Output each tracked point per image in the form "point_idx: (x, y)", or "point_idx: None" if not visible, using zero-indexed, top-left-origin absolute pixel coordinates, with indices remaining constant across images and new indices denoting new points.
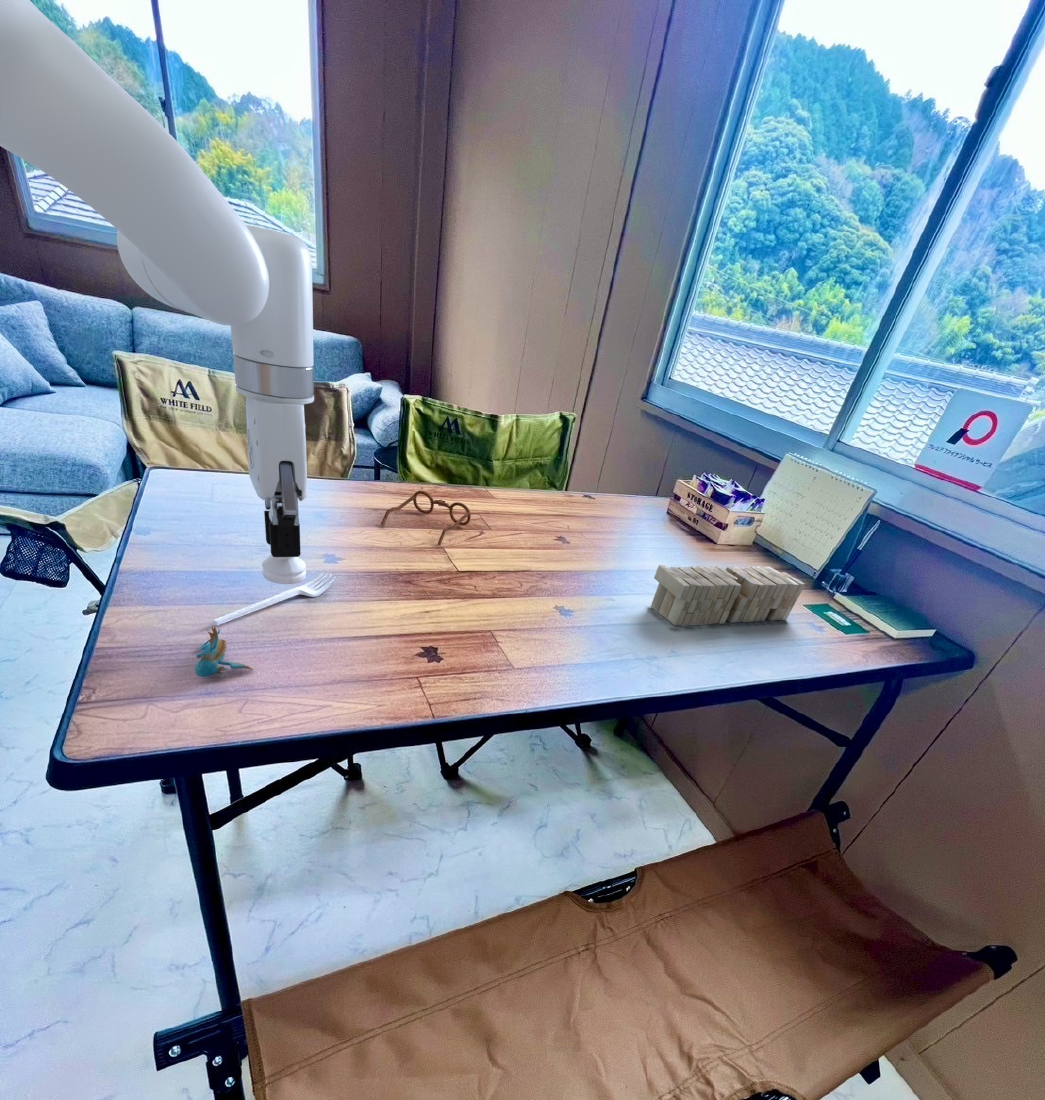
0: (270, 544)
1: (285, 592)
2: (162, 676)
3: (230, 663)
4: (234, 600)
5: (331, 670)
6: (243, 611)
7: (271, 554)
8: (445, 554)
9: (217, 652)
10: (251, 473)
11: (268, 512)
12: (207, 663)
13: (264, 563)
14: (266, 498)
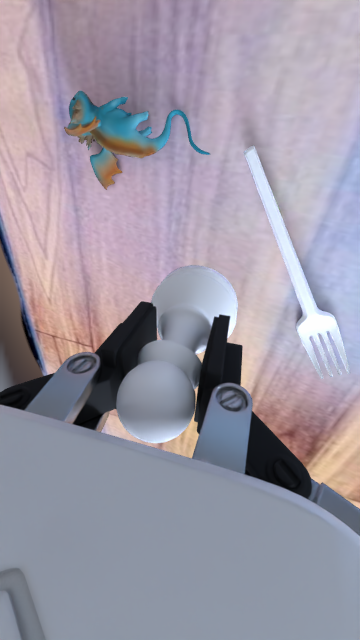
0: (142, 314)
1: (305, 295)
2: (106, 26)
3: (98, 156)
4: (345, 205)
5: (107, 281)
6: (267, 211)
7: (196, 305)
8: (347, 496)
9: (104, 136)
10: (93, 527)
11: (203, 379)
12: (69, 112)
13: (188, 279)
14: (205, 420)
